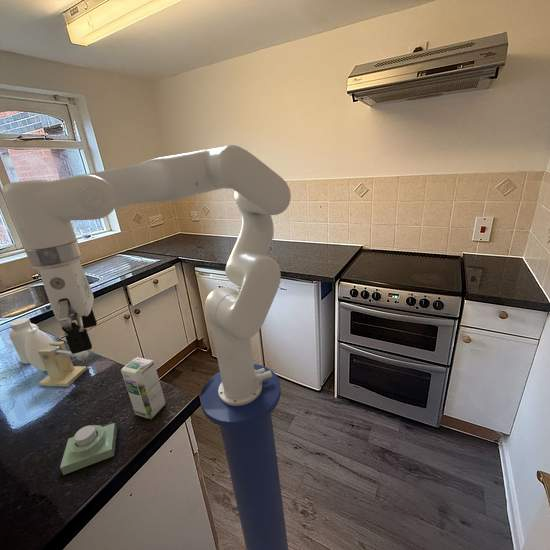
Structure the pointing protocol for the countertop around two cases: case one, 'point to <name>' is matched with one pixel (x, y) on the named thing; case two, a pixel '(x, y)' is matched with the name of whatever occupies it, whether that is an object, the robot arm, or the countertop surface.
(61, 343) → the lever bracket
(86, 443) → the white round push button
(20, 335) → the pill bottle
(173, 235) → the countertop surface
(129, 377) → the syrup box
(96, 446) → the green push button base
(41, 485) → the countertop surface
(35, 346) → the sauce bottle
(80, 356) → the flush lever
